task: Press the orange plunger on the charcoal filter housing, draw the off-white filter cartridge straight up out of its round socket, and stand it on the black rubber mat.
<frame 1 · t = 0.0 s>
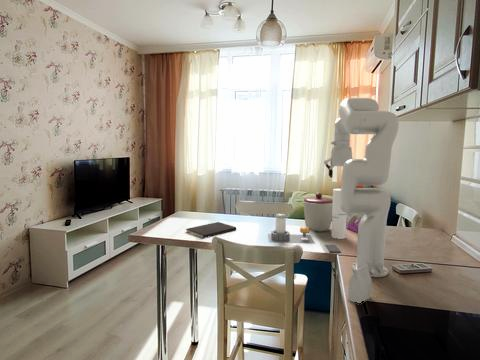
hand: (340, 177, 157), 31 cm above the table, tool pointing down, fingers open, 9 cm apart
mat: (328, 249, 140), on the table
candy bar box: (355, 230, 172), on the table
plunger: (304, 232, 152), point 4 cm above the table, slide at 0.0 cm
white doll dress: (359, 299, 94), on the table
cylindrical container: (338, 237, 159), on the table
canister: (317, 229, 174), on the table
housing: (290, 240, 153), on the table
hardcover book: (211, 232, 169), on the table
cartridge: (280, 238, 153), point 1 cm above the table, touching housing
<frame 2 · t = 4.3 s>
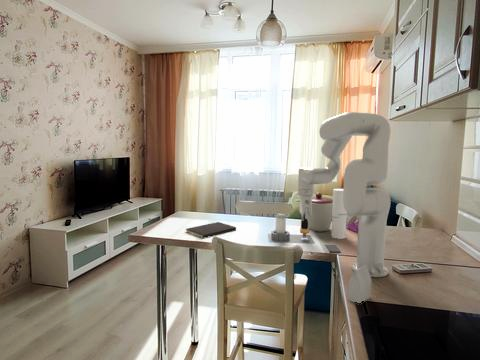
hand: (304, 228, 152), 6 cm above the table, tool pointing down, fingers closed
plunger: (304, 232, 152), point 4 cm above the table, slide at 0.3 cm, touching gripper
everything else where it was.
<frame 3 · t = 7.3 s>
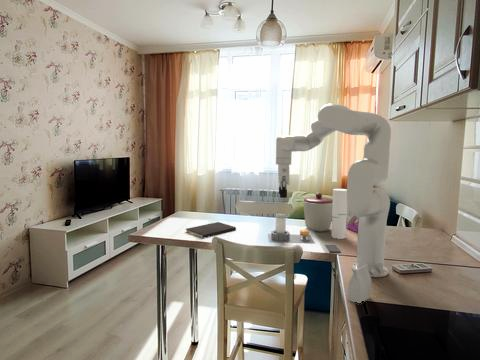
hand: (282, 196, 151), 23 cm above the table, tool pointing down, fingers open, 9 cm apart
plunger: (304, 235, 152), point 3 cm above the table, slide at 1.5 cm
everything else where it was.
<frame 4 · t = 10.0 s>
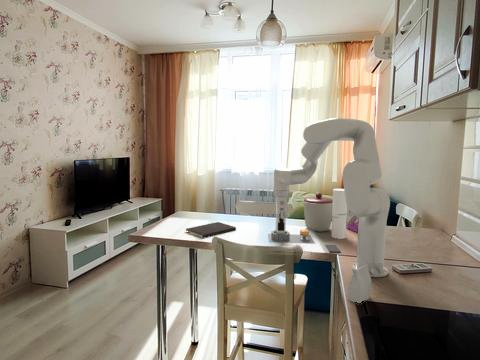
hand: (280, 228, 152), 6 cm above the table, tool pointing down, fingers closed on cartridge, 5 cm apart
cartridge: (280, 238, 153), point 1 cm above the table, touching gripper, housing
everything else where it was.
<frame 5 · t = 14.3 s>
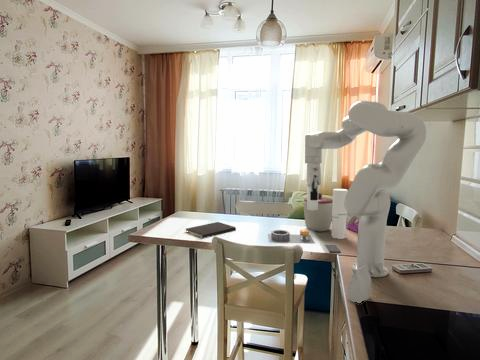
hand: (312, 198, 142), 23 cm above the table, tool pointing down, fingers closed on cartridge, 5 cm apart
cartridge: (312, 209, 142), point 18 cm above the table, touching gripper
everything else where it was.
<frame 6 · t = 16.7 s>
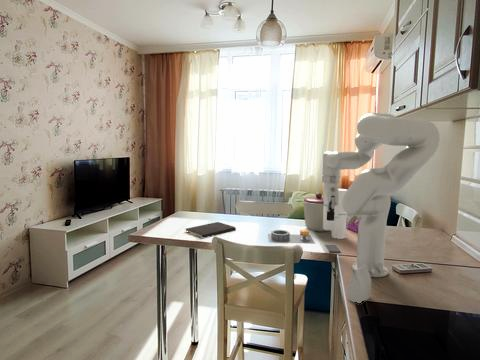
hand: (328, 218, 139), 14 cm above the table, tool pointing down, fingers closed on cartridge, 5 cm apart
cartridge: (328, 228, 139), point 10 cm above the table, touching gripper
everything else where it was.
when the fingers open (7 cm above the table, at t = 18.9 s): cartridge drops 1 cm, resting on mat.
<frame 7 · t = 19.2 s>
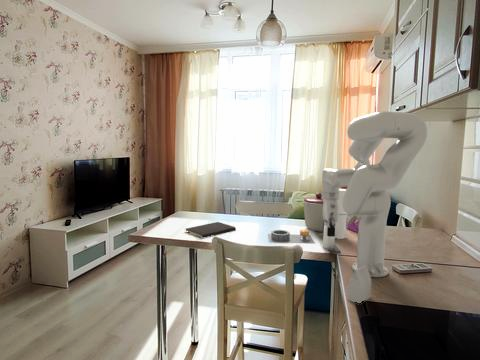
hand: (328, 233, 139), 7 cm above the table, tool pointing down, fingers open, 8 cm apart
cartridge: (328, 247, 140), point 1 cm above the table, touching mat
everything else where it was.
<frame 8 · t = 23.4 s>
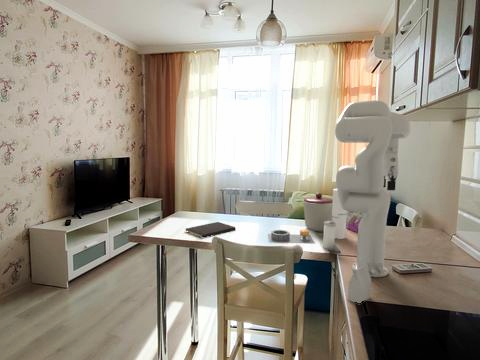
hand: (386, 188, 137), 28 cm above the table, tool pointing down, fingers open, 9 cm apart
nothing on the table moved.
at the end: plunger slide at 1.5 cm; cartridge inside the target area (0.1 cm from its centre), point 0.7 cm above the table; cartridge tilted 2° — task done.
